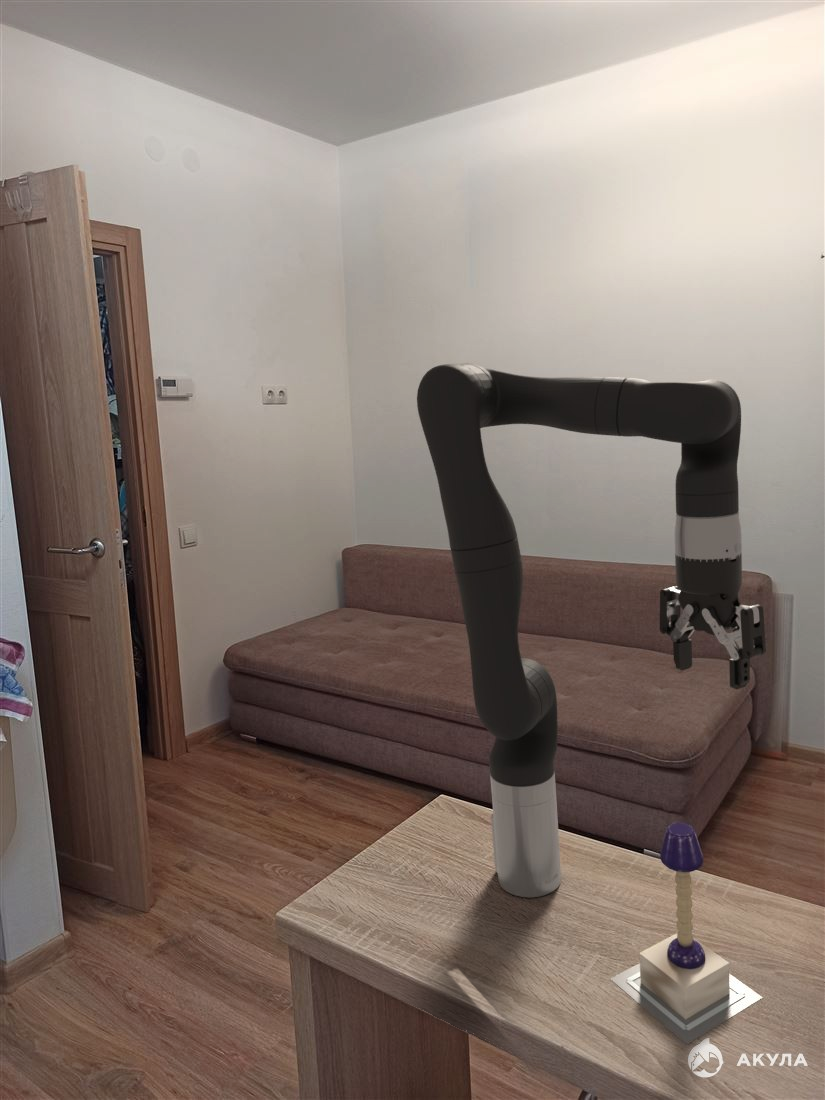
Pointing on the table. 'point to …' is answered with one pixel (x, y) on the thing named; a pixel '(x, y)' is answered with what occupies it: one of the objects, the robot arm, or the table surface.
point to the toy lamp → (683, 892)
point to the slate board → (698, 1022)
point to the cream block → (684, 979)
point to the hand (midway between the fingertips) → (710, 677)
